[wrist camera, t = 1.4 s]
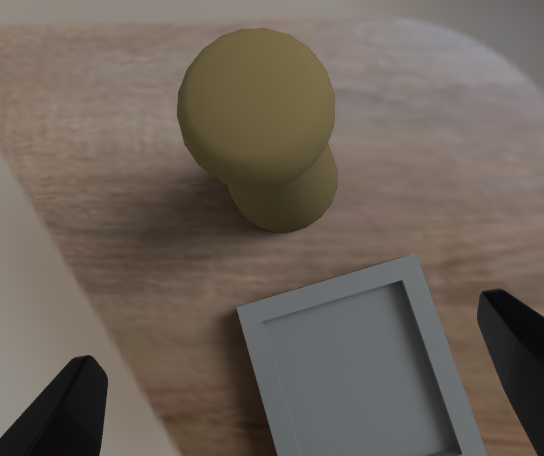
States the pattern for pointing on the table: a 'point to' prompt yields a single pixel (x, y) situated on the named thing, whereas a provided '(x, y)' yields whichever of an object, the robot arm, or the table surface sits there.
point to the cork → (263, 126)
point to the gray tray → (359, 368)
